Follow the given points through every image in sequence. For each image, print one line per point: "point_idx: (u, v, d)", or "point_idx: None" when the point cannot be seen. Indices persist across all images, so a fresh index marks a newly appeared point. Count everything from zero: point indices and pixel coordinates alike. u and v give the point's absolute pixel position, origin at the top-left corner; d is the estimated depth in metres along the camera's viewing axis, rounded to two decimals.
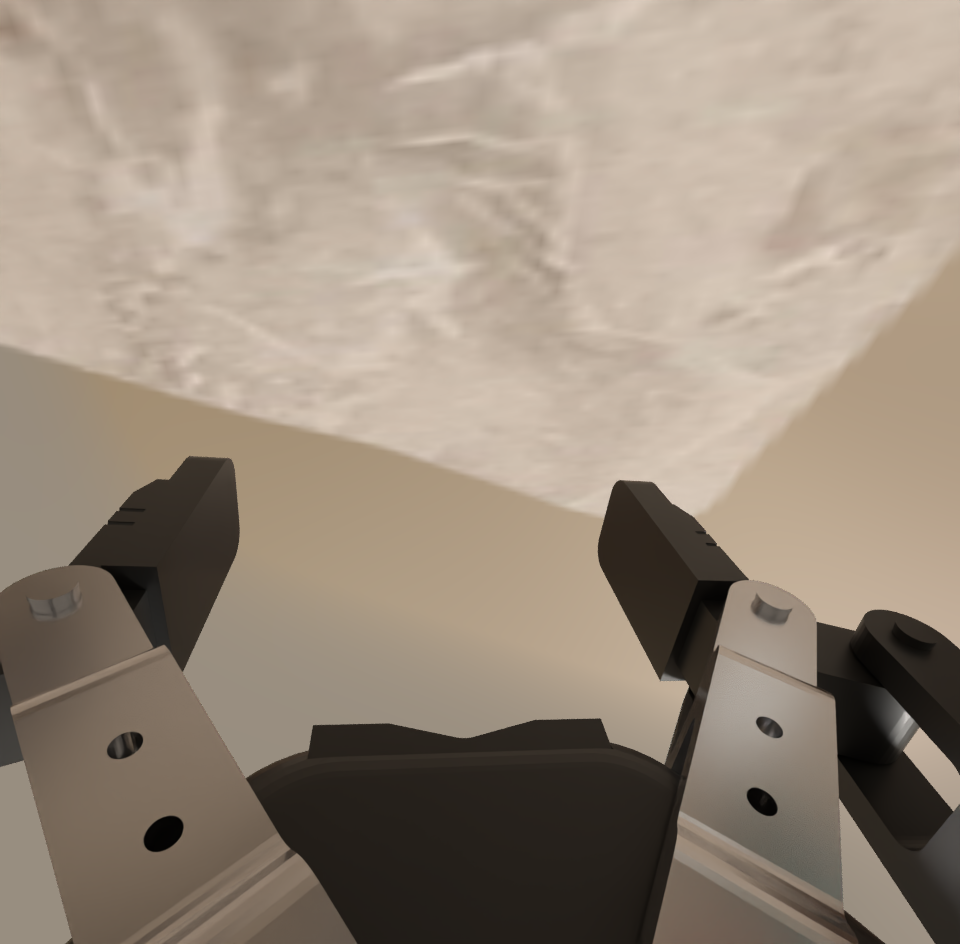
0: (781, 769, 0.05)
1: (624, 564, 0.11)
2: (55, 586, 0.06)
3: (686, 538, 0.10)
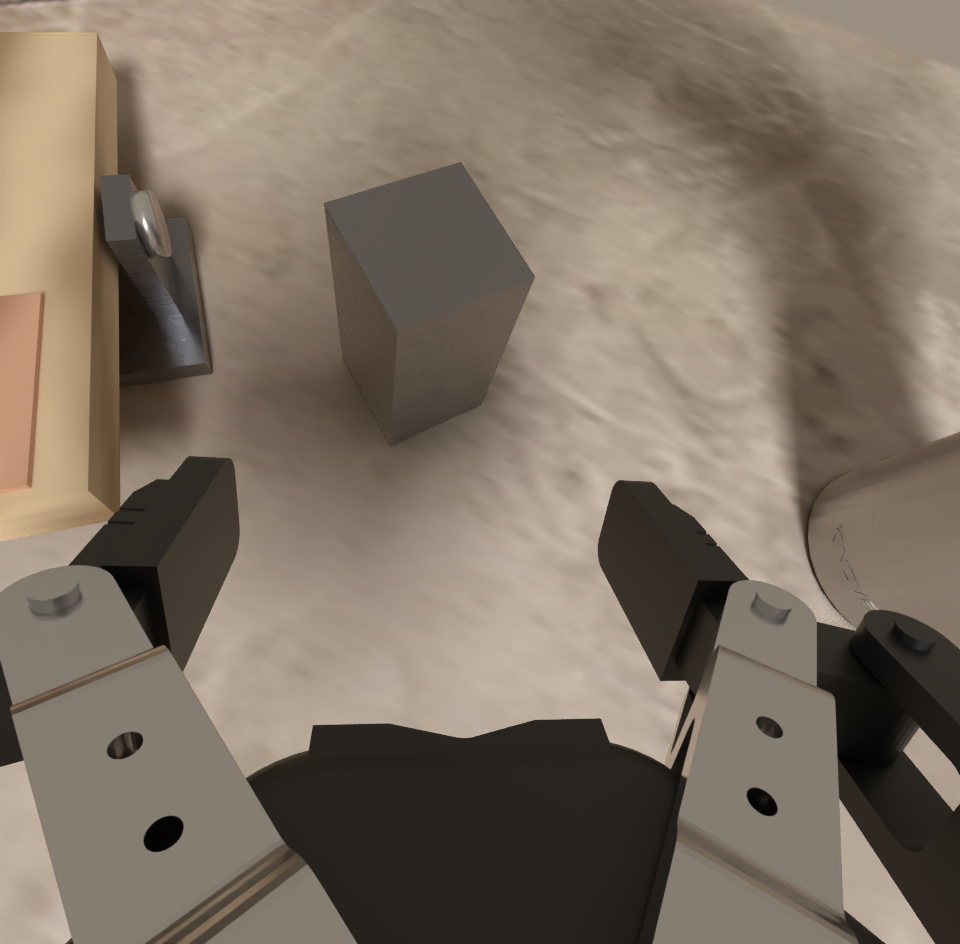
0: (780, 769, 0.05)
1: (624, 564, 0.11)
2: (55, 586, 0.06)
3: (686, 538, 0.10)
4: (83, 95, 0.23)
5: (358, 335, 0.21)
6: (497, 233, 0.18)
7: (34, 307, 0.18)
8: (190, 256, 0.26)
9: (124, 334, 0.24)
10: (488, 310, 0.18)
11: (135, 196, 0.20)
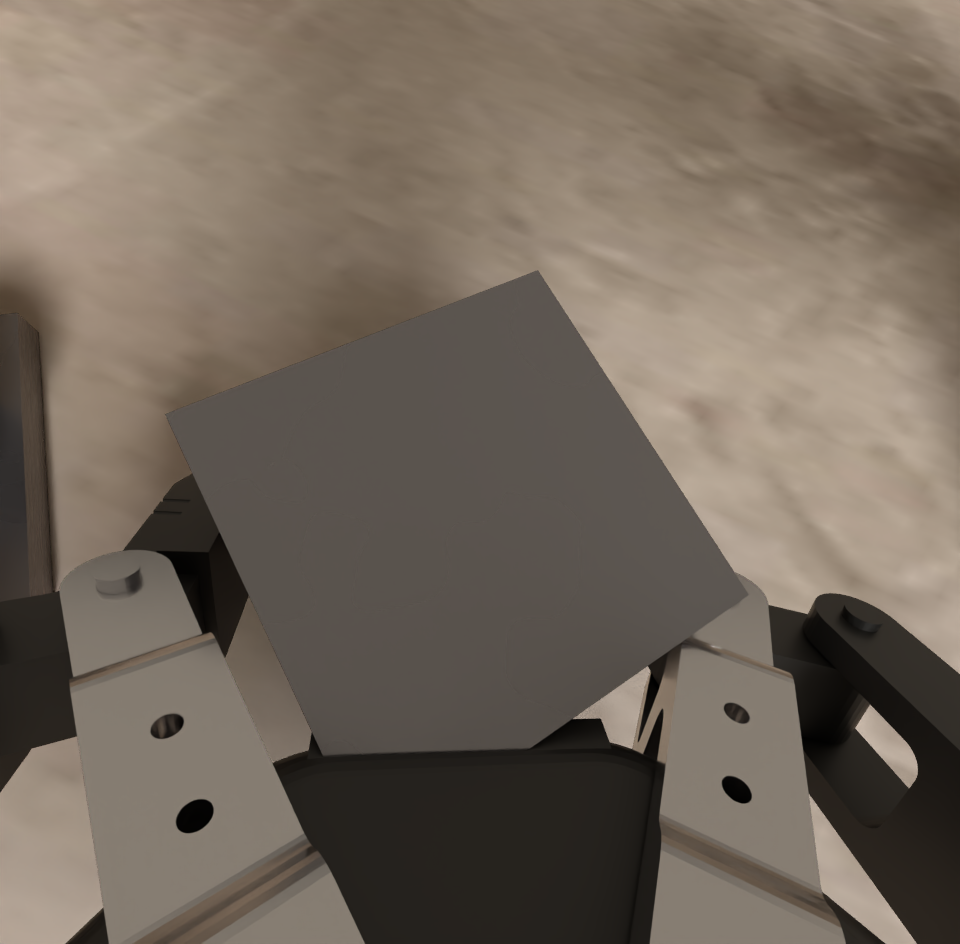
0: (751, 754, 0.05)
1: None
2: (120, 568, 0.07)
3: None
4: None
5: None
6: (642, 468, 0.07)
7: None
8: (21, 386, 0.15)
9: None
10: None
11: None
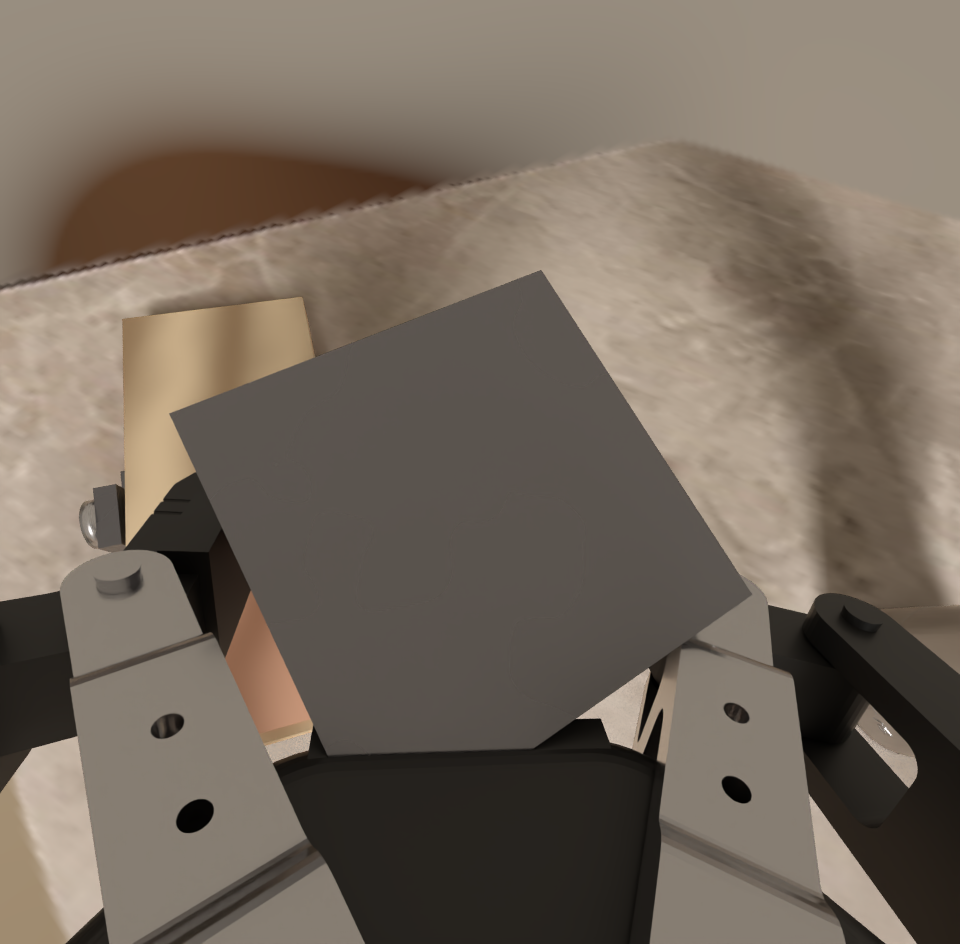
0: (751, 754, 0.05)
1: None
2: (120, 568, 0.07)
3: None
4: None
5: None
6: (645, 468, 0.07)
7: None
8: None
9: None
10: None
11: None
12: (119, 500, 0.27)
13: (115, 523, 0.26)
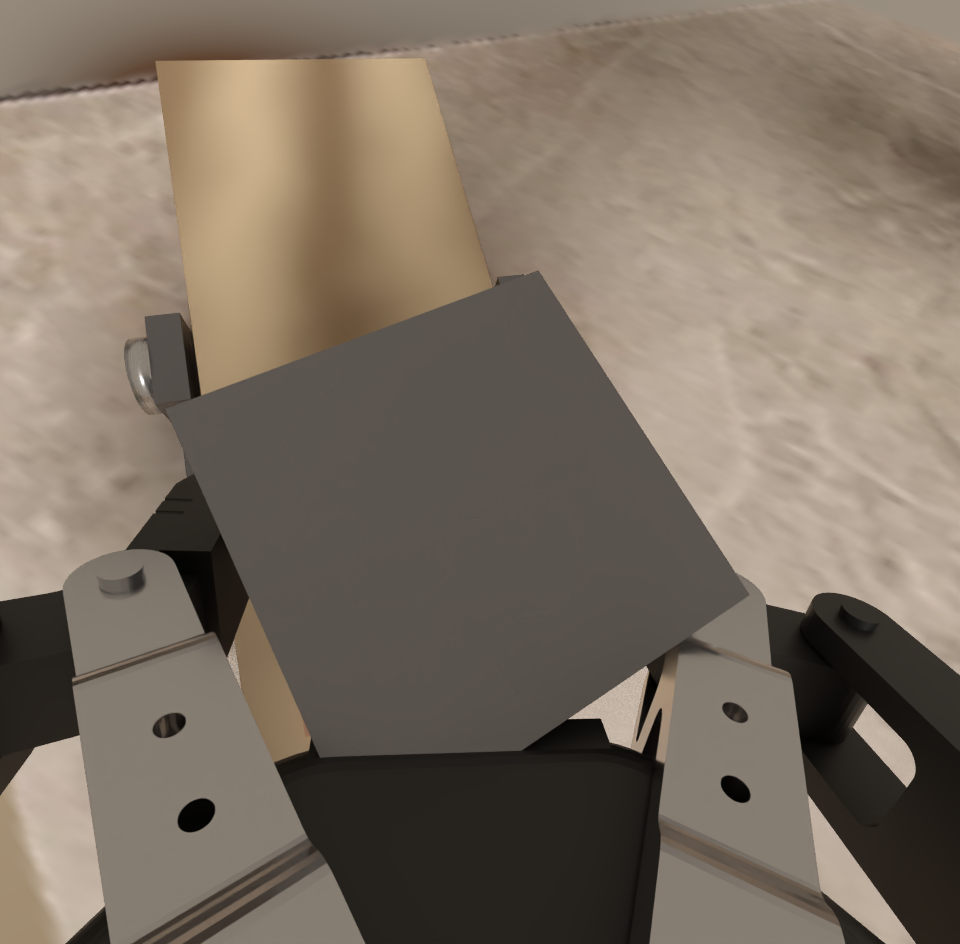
0: (749, 753, 0.05)
1: None
2: (122, 568, 0.07)
3: None
4: (442, 156, 0.21)
5: None
6: (641, 467, 0.07)
7: None
8: None
9: None
10: None
11: None
12: (184, 337, 0.17)
13: (180, 368, 0.17)
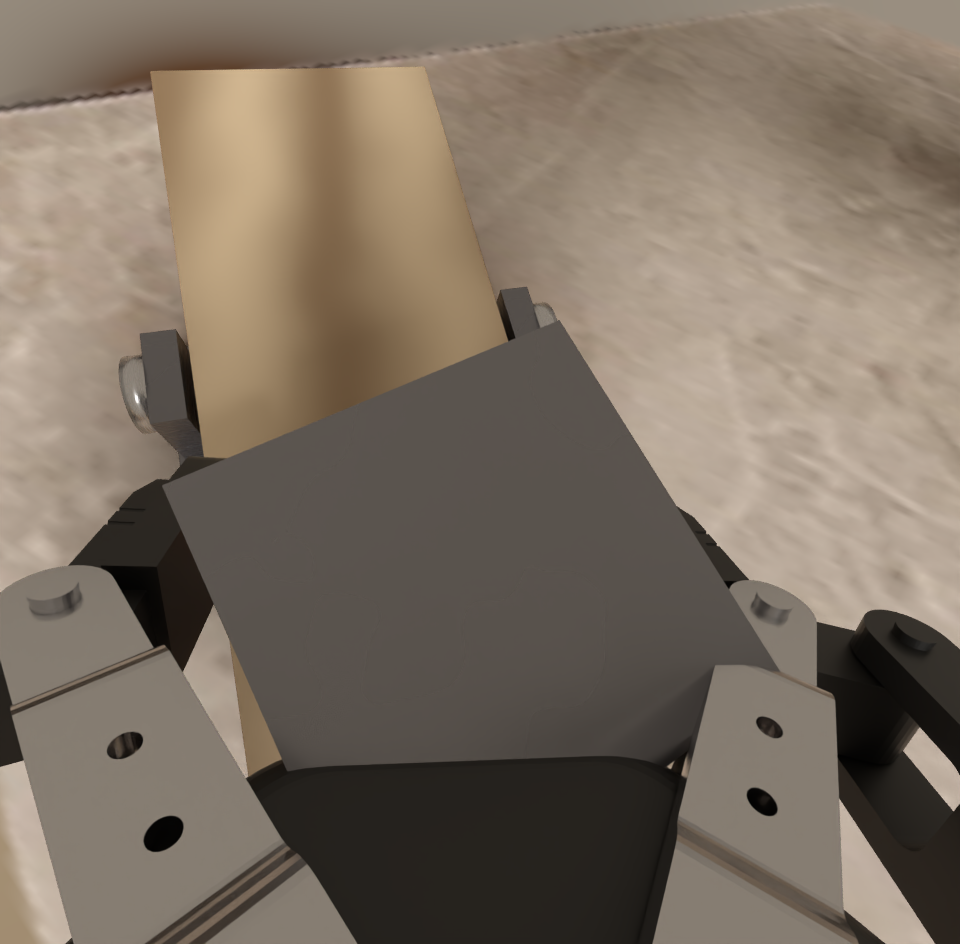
0: (780, 769, 0.05)
1: None
2: (55, 586, 0.06)
3: None
4: (443, 166, 0.20)
5: None
6: (670, 538, 0.06)
7: None
8: None
9: None
10: None
11: (542, 312, 0.19)
12: (180, 354, 0.17)
13: (176, 387, 0.16)
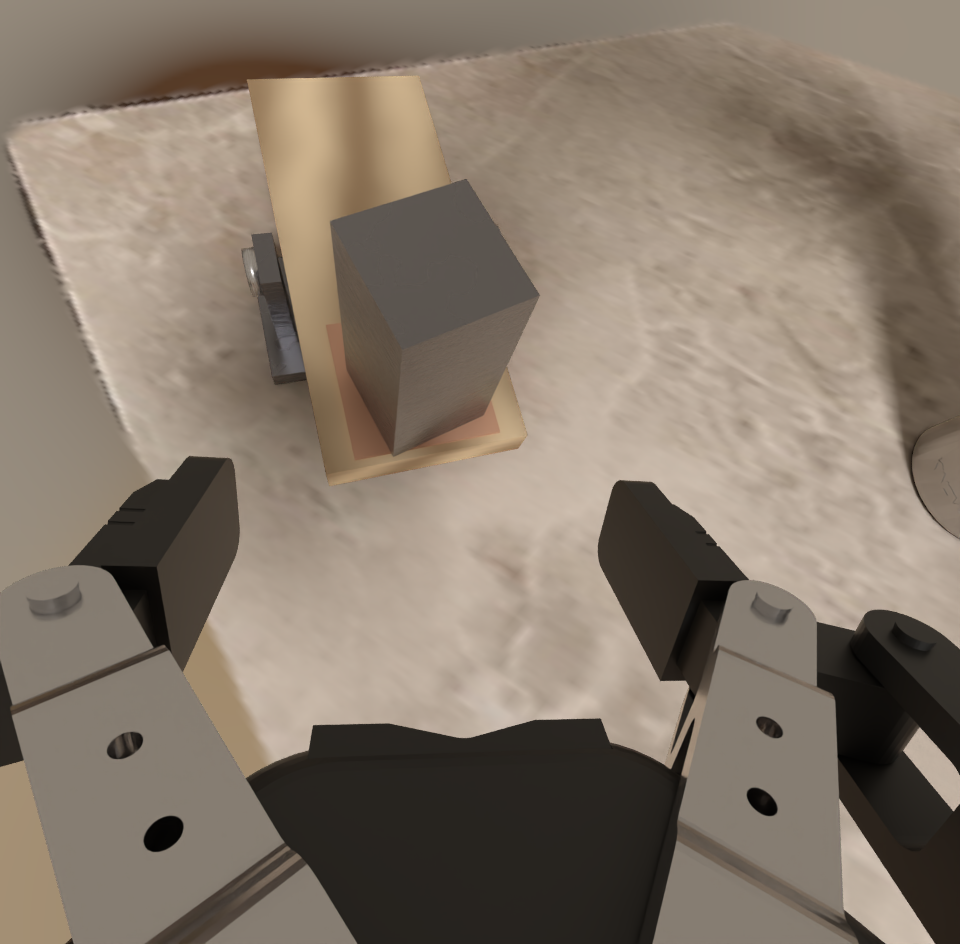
0: (781, 769, 0.05)
1: (624, 563, 0.11)
2: (55, 586, 0.06)
3: (686, 538, 0.10)
4: (430, 139, 0.32)
5: (362, 349, 0.21)
6: (502, 251, 0.18)
7: None
8: None
9: None
10: (492, 328, 0.18)
11: None
12: (274, 247, 0.28)
13: (274, 264, 0.28)
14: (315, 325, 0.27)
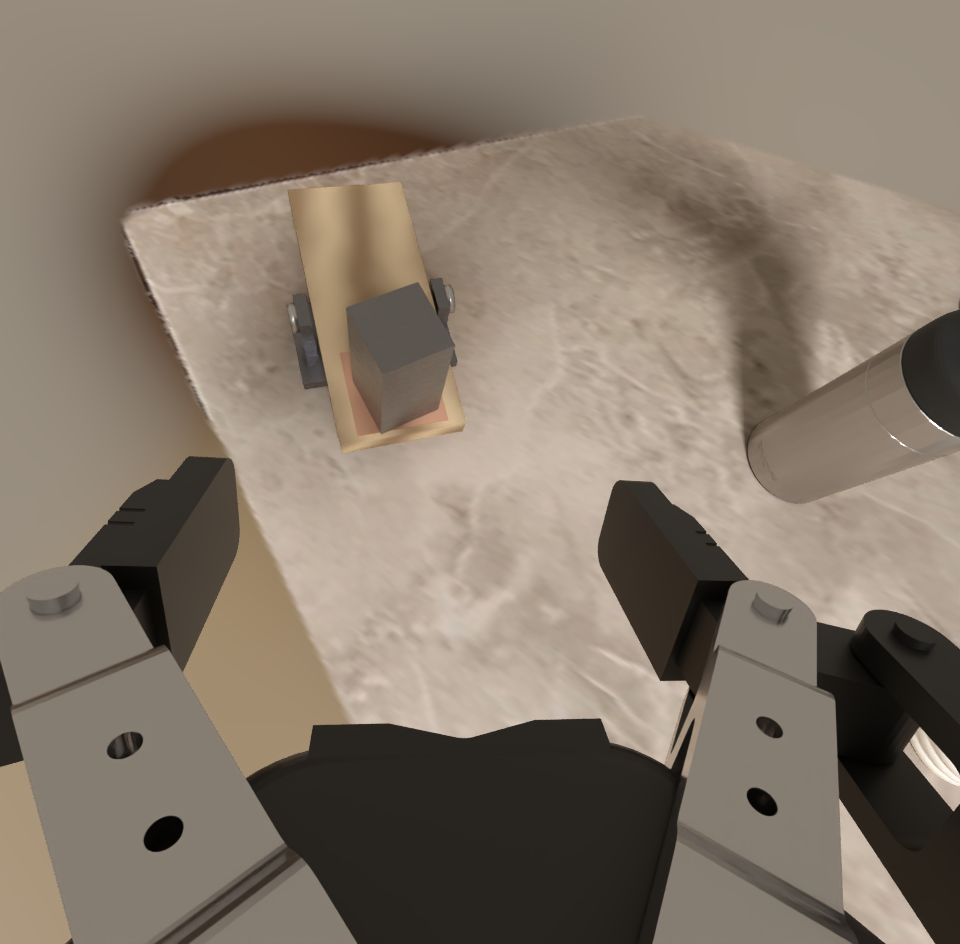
0: (781, 769, 0.05)
1: (624, 564, 0.11)
2: (55, 586, 0.06)
3: (686, 538, 0.10)
4: (408, 227, 0.48)
5: (362, 370, 0.38)
6: (436, 321, 0.34)
7: None
8: None
9: None
10: (431, 362, 0.35)
11: (447, 288, 0.47)
12: None
13: (307, 314, 0.44)
14: (333, 352, 0.44)
